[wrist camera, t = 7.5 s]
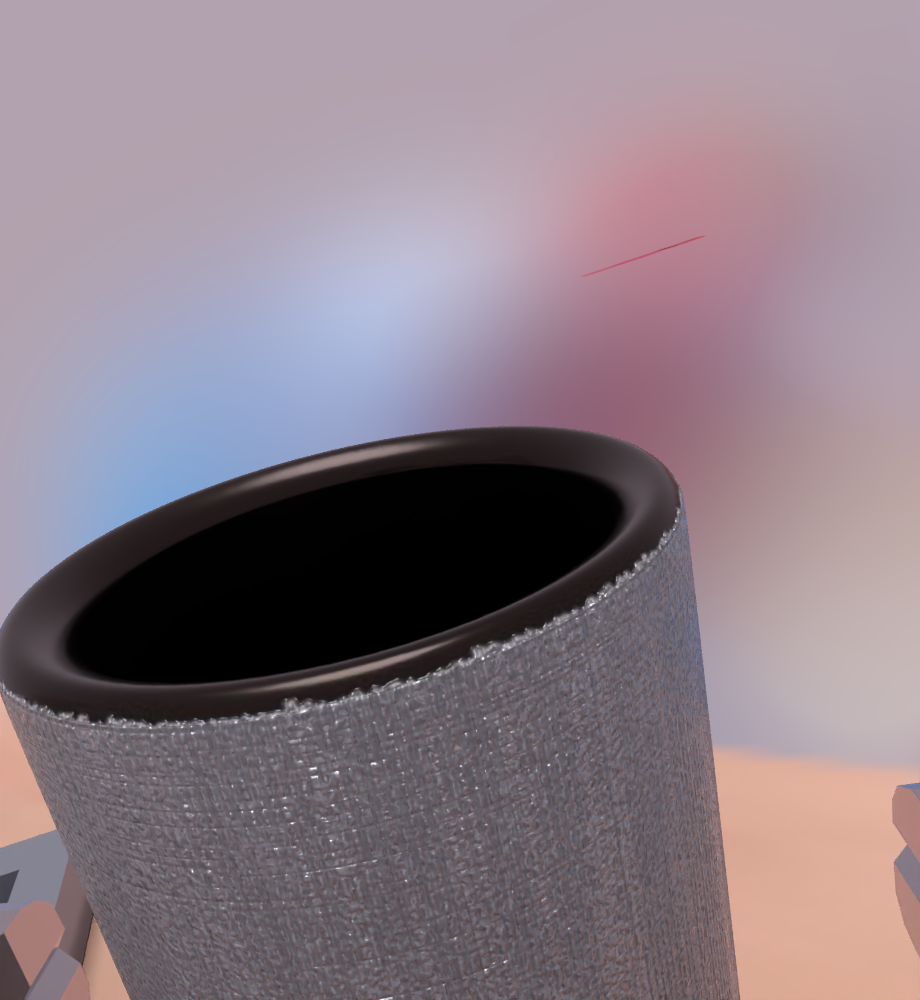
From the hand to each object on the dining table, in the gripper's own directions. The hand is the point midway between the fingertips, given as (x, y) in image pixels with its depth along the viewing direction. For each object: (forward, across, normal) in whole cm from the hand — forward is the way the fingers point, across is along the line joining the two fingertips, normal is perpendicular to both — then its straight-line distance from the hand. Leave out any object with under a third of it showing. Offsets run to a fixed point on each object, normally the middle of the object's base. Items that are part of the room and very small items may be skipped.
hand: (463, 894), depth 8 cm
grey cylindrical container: (-1, 0, -6) cm, 6 cm away
